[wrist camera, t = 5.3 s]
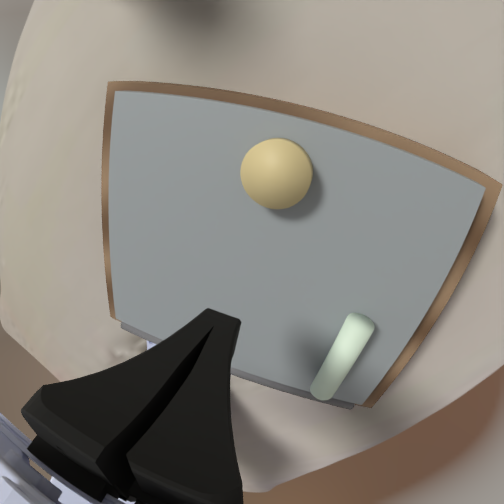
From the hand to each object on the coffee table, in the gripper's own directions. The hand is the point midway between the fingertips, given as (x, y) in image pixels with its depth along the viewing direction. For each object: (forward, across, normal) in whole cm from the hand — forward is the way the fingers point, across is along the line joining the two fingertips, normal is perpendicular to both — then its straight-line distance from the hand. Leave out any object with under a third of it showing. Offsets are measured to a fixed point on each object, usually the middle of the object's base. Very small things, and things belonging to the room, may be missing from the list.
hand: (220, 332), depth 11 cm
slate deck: (+6, 0, +1) cm, 6 cm away
